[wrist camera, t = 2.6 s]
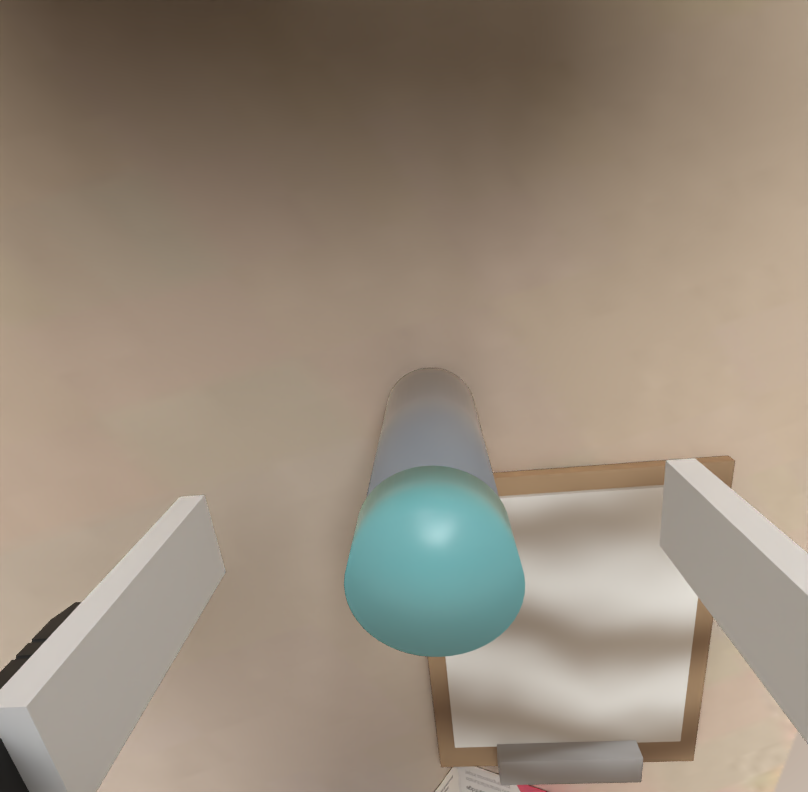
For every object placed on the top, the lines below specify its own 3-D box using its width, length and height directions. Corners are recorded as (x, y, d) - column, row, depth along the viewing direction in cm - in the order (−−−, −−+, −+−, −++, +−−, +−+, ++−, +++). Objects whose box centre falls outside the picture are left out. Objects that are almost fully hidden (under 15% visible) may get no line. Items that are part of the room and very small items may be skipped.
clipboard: (406, 479, 23) (405, 498, 22) (728, 455, 22) (752, 473, 20) (440, 758, 30) (441, 788, 28) (688, 751, 29) (704, 783, 27)
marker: (381, 362, 21) (331, 517, 10) (471, 353, 21) (522, 505, 10) (393, 452, 23) (360, 676, 12) (477, 445, 23) (527, 669, 11)
